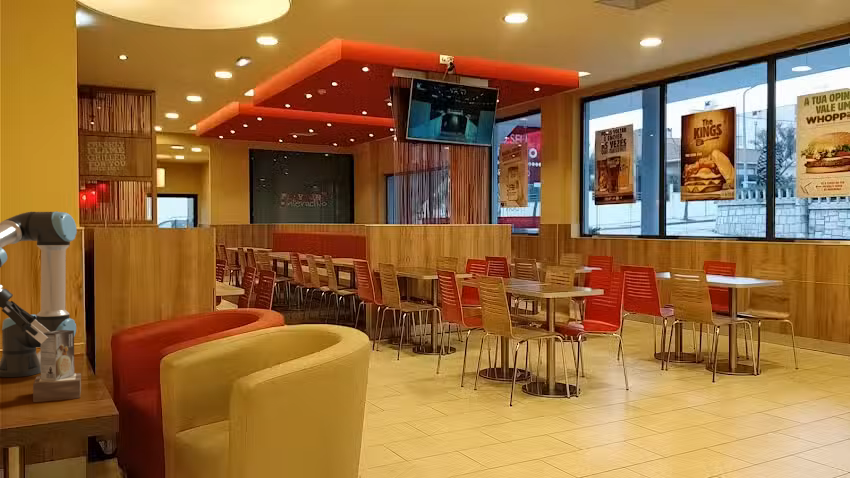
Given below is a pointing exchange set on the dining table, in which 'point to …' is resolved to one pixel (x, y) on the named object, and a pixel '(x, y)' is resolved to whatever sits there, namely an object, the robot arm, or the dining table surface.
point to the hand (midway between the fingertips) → (45, 337)
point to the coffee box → (57, 355)
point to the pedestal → (57, 388)
